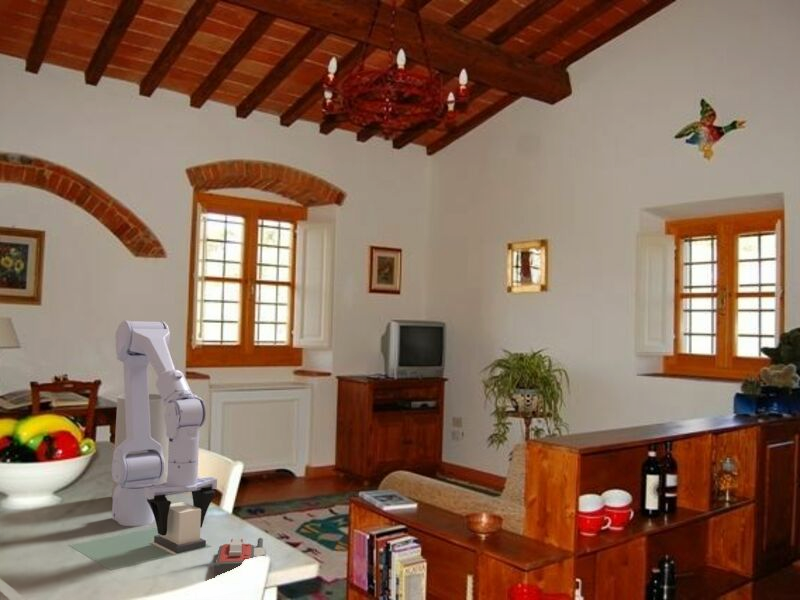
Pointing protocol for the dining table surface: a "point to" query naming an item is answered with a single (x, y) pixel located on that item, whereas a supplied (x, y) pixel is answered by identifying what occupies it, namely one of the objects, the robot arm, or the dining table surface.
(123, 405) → the cylinder vase
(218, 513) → the dining table surface
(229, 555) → the walkie-talkie
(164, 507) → the robot arm
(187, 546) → the header board
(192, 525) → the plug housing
